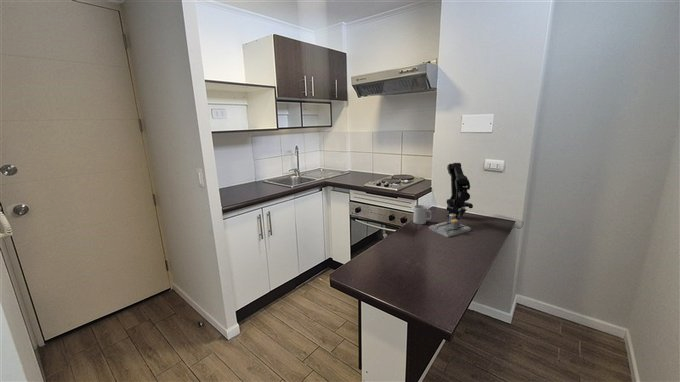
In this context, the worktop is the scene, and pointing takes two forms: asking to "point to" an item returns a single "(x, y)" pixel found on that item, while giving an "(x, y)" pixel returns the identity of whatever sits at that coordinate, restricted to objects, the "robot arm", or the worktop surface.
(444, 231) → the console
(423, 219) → the mug
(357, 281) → the worktop surface
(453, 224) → the orange fader
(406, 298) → the worktop surface
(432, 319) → the worktop surface
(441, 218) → the worktop surface
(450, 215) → the cream fader
